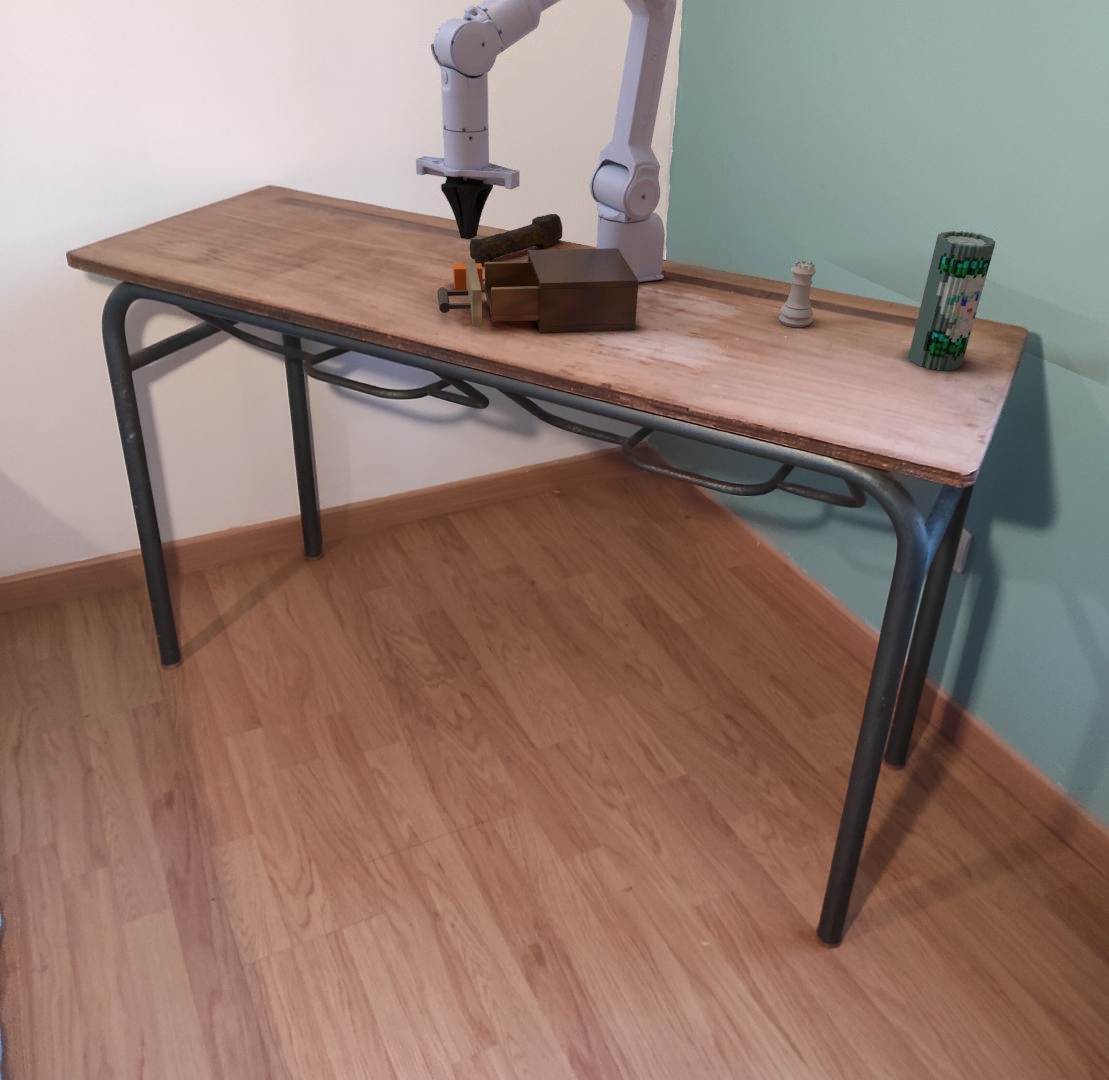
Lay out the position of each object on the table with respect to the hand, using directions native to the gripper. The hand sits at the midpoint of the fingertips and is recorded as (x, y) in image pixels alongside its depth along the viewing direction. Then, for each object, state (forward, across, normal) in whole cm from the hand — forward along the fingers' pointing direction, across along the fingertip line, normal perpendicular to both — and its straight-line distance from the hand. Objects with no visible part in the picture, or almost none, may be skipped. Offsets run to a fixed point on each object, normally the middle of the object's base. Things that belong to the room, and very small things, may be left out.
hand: (468, 236), depth 128 cm
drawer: (+8, +6, -2) cm, 10 cm away
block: (+9, -2, +5) cm, 11 cm away
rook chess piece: (+9, +41, +16) cm, 45 cm away
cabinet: (+9, +15, +4) cm, 18 cm away
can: (+9, +60, +13) cm, 62 cm away
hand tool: (+9, -6, +23) cm, 26 cm away
